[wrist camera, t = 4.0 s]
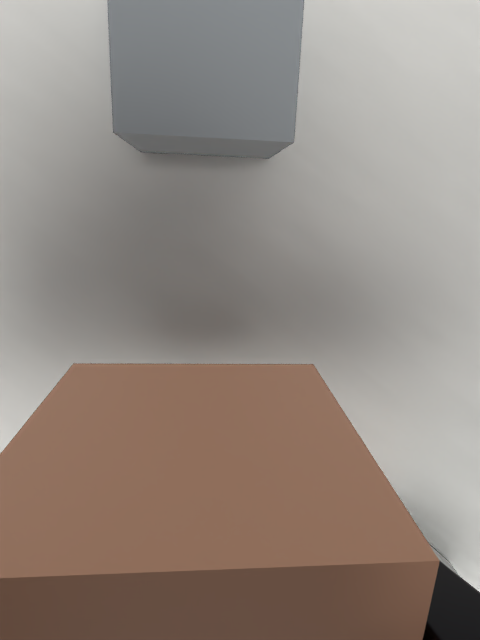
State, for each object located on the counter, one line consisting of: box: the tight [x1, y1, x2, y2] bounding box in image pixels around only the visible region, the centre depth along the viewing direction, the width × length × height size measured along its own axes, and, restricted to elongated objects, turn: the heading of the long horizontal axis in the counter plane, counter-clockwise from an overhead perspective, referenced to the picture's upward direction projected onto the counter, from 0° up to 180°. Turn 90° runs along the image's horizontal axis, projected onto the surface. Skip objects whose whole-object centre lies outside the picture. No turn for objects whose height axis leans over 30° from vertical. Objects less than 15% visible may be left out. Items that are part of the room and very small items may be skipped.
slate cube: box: [108, 0, 304, 158], centre depth 13 cm, size 5×5×5 cm
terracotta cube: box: [0, 364, 440, 640], centre depth 7 cm, size 5×5×5 cm
